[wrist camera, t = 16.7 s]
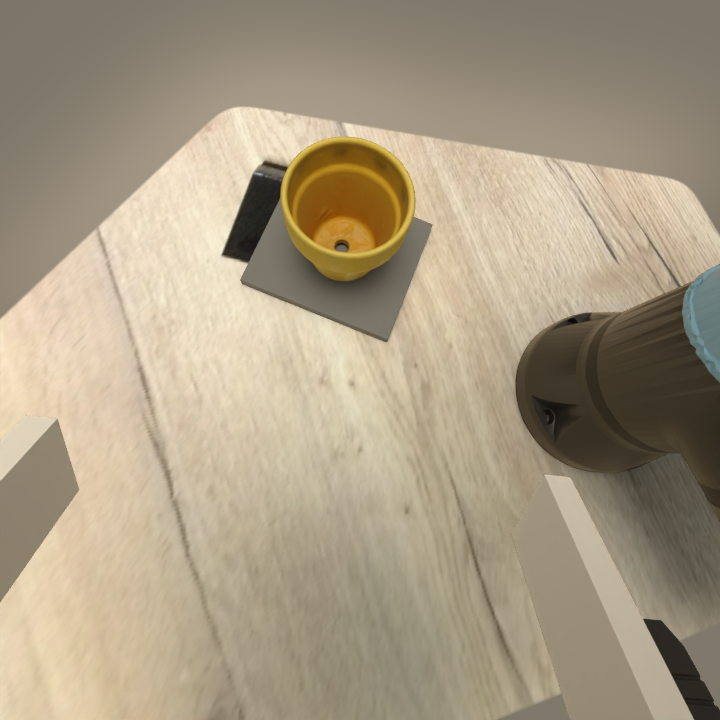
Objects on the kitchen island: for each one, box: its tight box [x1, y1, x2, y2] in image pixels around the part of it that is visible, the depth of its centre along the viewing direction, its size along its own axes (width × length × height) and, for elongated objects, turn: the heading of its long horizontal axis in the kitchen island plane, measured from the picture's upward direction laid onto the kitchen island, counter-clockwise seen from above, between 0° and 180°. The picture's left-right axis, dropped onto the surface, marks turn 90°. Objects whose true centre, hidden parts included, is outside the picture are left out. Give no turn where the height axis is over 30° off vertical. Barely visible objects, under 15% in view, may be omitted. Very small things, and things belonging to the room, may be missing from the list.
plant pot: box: [281, 137, 415, 281], centre depth 38 cm, size 10×10×10 cm
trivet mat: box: [240, 198, 432, 342], centre depth 43 cm, size 15×13×1 cm
